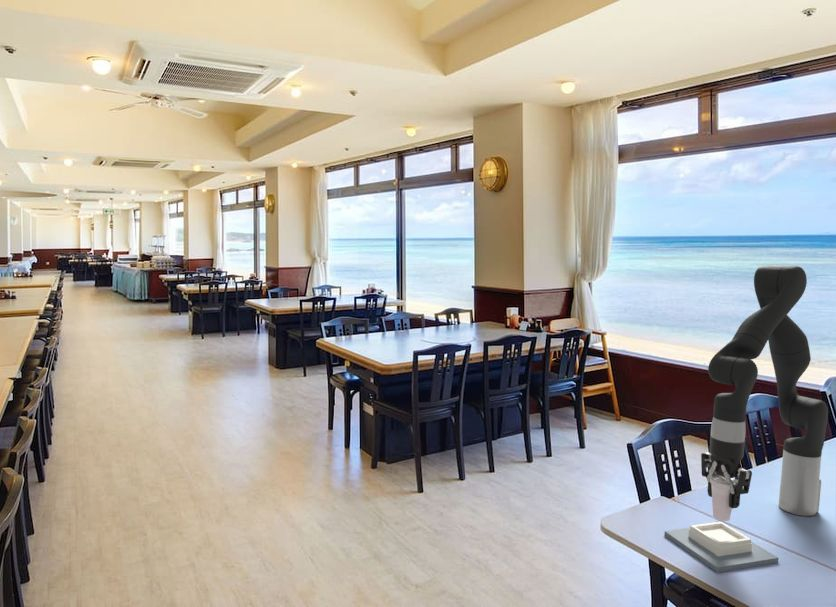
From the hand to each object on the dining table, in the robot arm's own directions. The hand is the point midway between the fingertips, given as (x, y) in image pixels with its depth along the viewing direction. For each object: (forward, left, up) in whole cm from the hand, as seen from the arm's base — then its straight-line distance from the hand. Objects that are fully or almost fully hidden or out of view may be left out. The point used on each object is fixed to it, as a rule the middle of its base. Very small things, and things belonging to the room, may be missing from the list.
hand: (722, 501), depth 146 cm
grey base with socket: (0, 0, -12) cm, 12 cm away
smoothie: (0, 0, -4) cm, 4 cm away
